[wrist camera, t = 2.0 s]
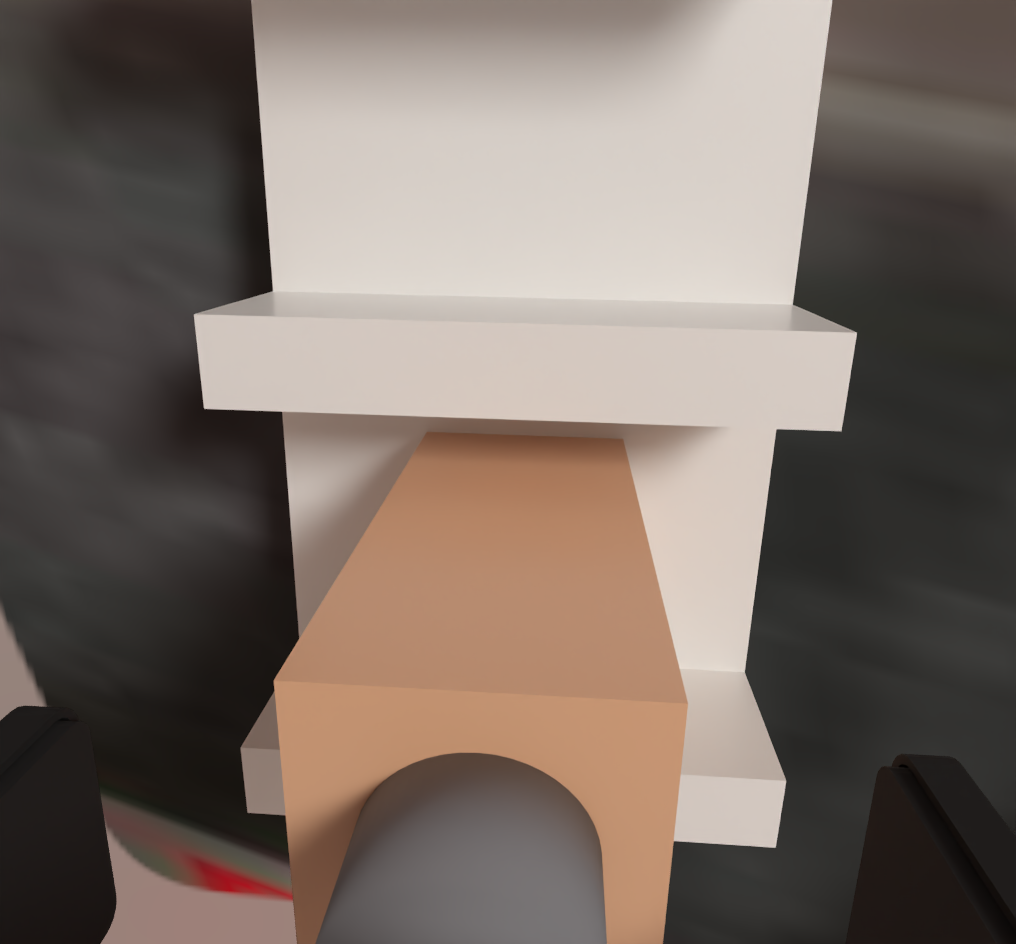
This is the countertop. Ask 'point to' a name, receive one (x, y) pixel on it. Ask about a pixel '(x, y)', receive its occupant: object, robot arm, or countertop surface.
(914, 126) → the countertop surface
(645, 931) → the cord plug
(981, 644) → the countertop surface
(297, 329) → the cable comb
